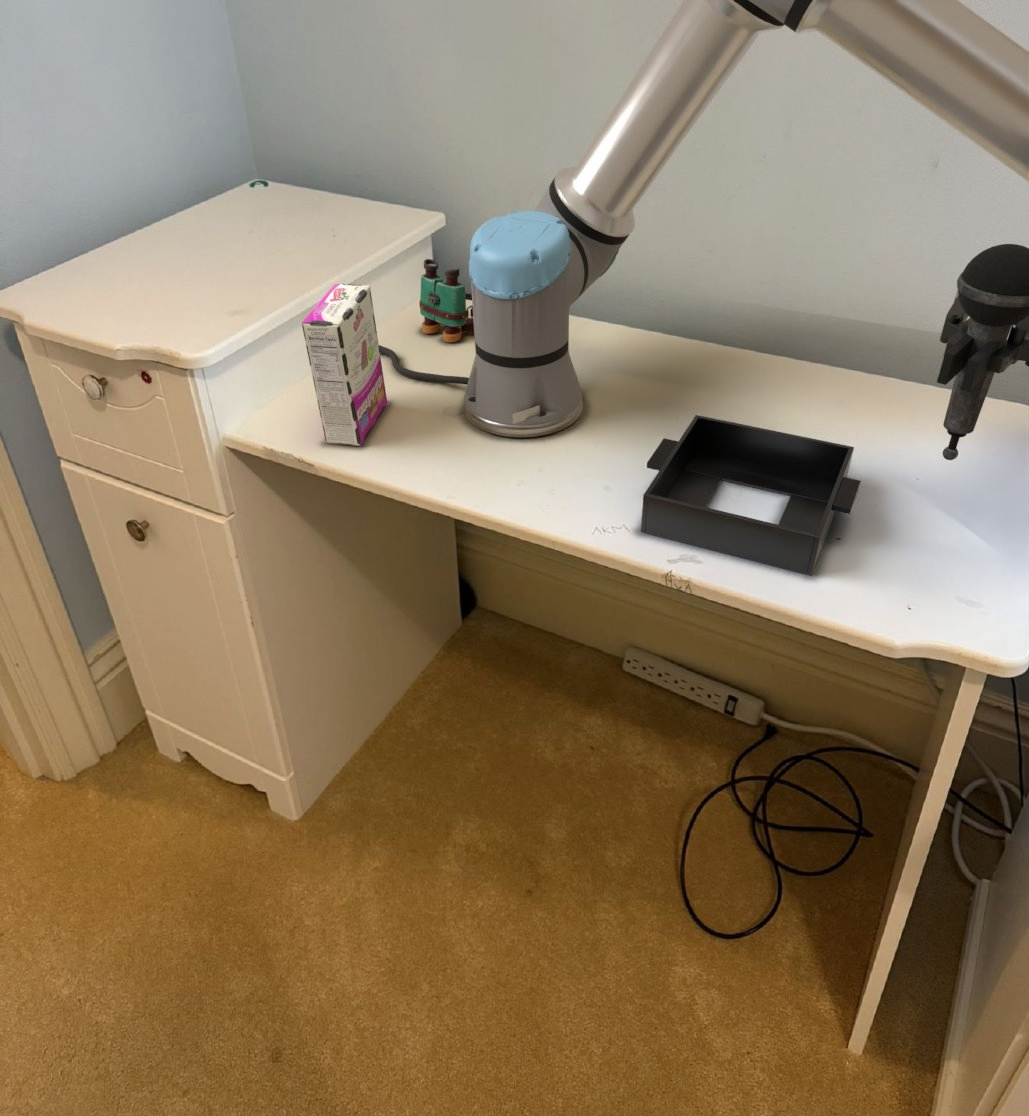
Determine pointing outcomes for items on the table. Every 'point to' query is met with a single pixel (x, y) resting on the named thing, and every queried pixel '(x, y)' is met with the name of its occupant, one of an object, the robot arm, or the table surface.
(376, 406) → the candy bar box
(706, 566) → the table surface
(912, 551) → the table surface
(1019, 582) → the table surface
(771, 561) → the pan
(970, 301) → the microphone
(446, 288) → the binoculars
